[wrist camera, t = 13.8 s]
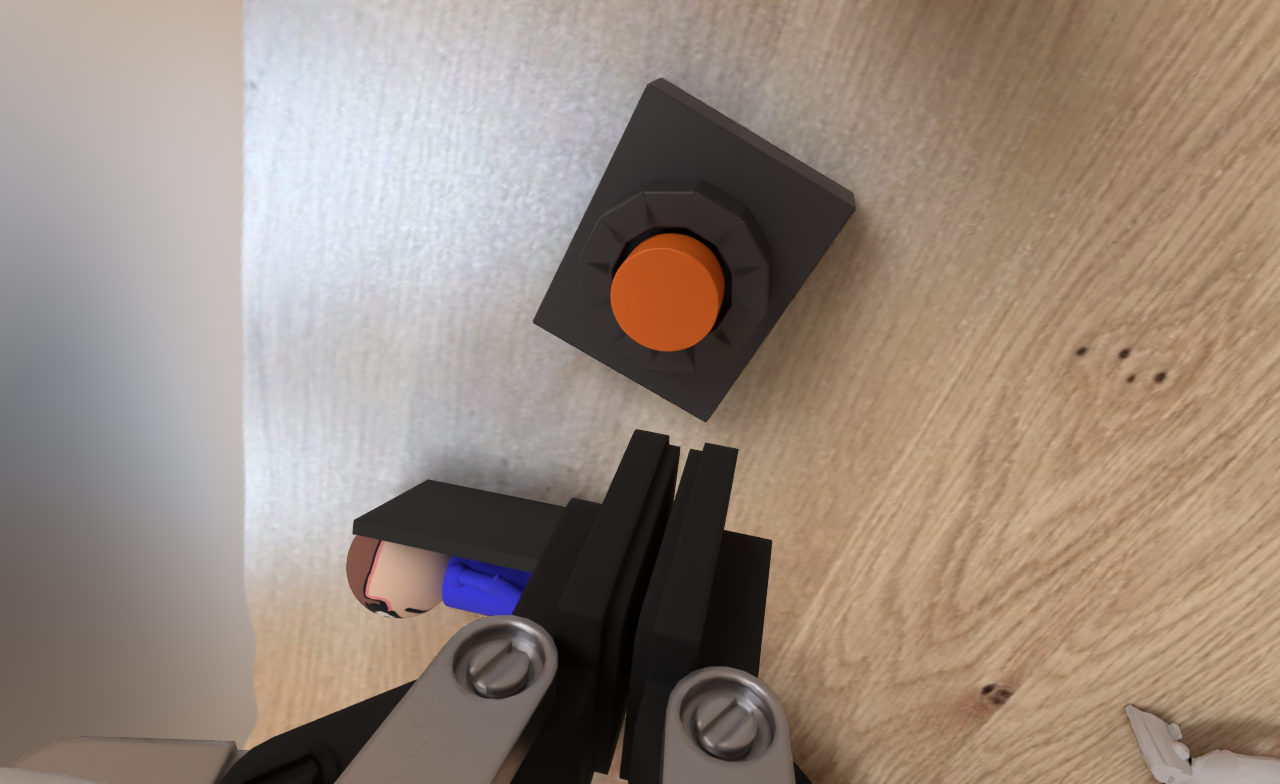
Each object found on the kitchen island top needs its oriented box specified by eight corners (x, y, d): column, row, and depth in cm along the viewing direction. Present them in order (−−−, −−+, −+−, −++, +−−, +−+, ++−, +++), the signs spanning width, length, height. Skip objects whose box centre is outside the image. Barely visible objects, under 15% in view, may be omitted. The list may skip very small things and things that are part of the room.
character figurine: (674, 596, 37) (402, 531, 40) (691, 488, 33) (388, 422, 36) (638, 736, 31) (317, 648, 33) (654, 623, 27) (287, 533, 29)
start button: (652, 212, 24) (640, 226, 23) (745, 267, 25) (739, 285, 23) (605, 299, 26) (592, 317, 25) (692, 349, 26) (684, 370, 25)
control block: (660, 76, 26) (635, 88, 22) (854, 193, 26) (859, 222, 23) (549, 302, 31) (515, 341, 27) (713, 398, 31) (699, 447, 28)
